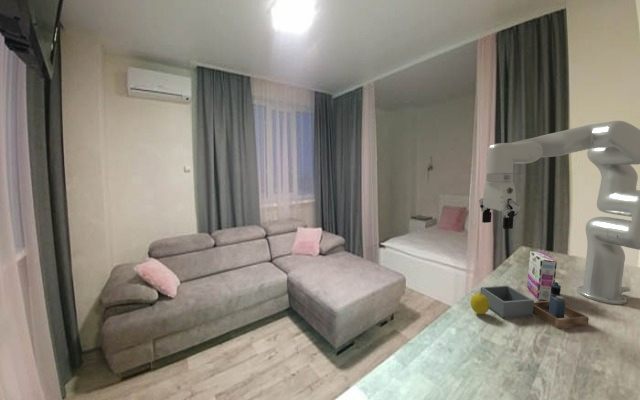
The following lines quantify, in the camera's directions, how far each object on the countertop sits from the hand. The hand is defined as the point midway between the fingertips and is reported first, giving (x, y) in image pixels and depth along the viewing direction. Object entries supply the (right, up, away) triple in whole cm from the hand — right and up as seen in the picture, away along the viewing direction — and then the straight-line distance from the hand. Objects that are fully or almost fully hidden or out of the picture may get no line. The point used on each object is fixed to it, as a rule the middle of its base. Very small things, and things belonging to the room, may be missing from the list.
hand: (496, 225), depth 88 cm
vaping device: (+17, -32, -5) cm, 36 cm away
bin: (+4, -31, +1) cm, 31 cm away
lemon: (-7, -32, -2) cm, 33 cm away
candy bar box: (+25, -30, +10) cm, 40 cm away
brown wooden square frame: (+17, -31, -5) cm, 36 cm away
